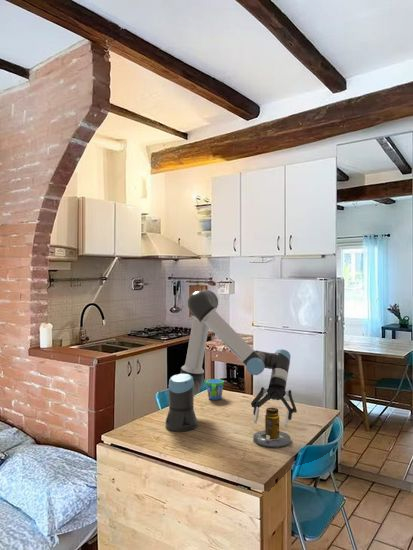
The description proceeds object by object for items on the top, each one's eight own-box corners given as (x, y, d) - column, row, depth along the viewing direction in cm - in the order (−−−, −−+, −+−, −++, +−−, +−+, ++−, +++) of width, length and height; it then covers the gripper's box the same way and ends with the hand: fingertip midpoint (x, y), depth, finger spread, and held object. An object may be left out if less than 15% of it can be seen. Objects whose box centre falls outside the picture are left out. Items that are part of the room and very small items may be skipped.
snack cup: (209, 394, 252) (208, 377, 252) (226, 395, 250) (226, 378, 250) (202, 402, 237) (202, 383, 237) (221, 403, 235) (221, 385, 235)
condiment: (283, 437, 182) (283, 409, 182) (268, 441, 178) (268, 413, 178) (272, 432, 188) (272, 405, 188) (257, 436, 184) (257, 408, 184)
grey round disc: (248, 444, 179) (248, 434, 179) (258, 431, 193) (258, 421, 193) (286, 450, 172) (286, 439, 172) (293, 436, 187) (293, 426, 187)
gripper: (306, 387, 192) (300, 432, 178) (253, 382, 202) (244, 424, 188) (304, 378, 187) (298, 423, 173) (250, 373, 197) (240, 416, 183)
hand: (270, 424), depth 181 cm, fingers open, 13 cm apart
